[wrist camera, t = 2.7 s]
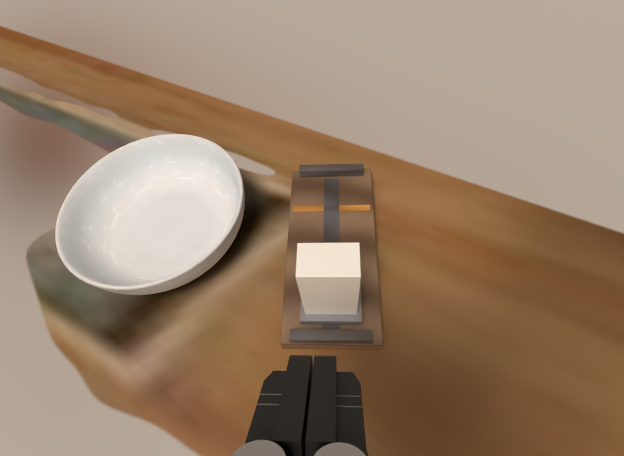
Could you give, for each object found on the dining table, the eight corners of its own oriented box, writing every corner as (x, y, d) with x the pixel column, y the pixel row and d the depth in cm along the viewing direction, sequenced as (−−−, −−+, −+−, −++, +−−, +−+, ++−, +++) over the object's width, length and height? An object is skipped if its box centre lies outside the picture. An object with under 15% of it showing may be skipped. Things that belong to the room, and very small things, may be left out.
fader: (361, 325, 36) (367, 285, 27) (300, 324, 37) (288, 285, 28) (359, 283, 38) (365, 235, 30) (302, 283, 39) (291, 235, 30)
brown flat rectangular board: (381, 349, 37) (384, 341, 34) (283, 348, 38) (278, 340, 35) (369, 179, 48) (371, 162, 46) (294, 180, 49) (291, 164, 46)
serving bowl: (173, 148, 54) (153, 111, 48) (288, 209, 47) (280, 174, 41) (56, 255, 46) (14, 227, 40) (173, 349, 39) (143, 331, 33)
